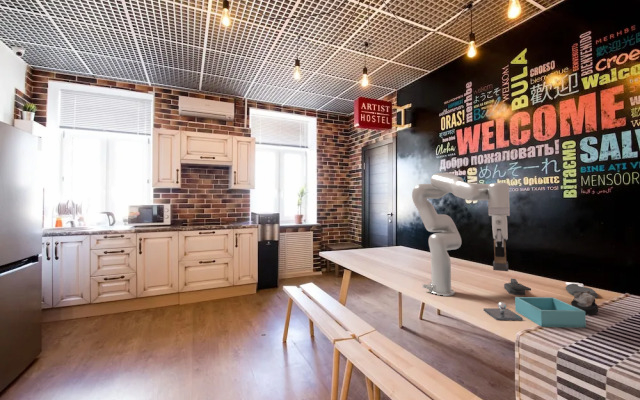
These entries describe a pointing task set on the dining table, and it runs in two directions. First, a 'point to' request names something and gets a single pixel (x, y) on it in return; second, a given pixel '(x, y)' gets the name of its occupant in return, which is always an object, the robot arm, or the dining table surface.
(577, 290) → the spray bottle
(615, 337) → the dining table surface
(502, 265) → the strut
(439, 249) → the robot arm
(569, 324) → the bin
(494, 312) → the base
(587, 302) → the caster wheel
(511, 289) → the zipper pull
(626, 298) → the dining table surface
